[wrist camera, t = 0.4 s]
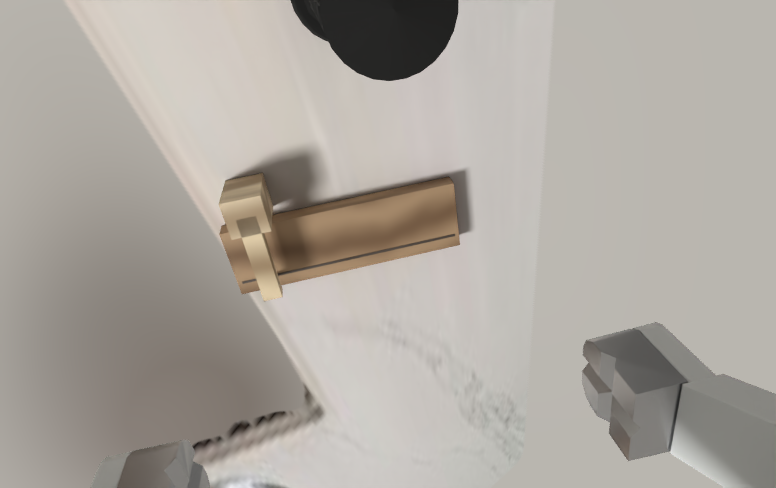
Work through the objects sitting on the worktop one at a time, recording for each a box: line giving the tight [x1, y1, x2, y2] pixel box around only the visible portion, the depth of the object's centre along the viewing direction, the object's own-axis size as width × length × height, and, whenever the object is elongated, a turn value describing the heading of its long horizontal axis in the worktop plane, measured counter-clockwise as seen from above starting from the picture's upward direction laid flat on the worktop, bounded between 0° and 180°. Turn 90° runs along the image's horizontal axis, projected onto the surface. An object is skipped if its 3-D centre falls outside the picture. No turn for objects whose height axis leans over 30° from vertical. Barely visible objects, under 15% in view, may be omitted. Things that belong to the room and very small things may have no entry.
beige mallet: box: [219, 173, 282, 301], centre depth 54 cm, size 12×4×6 cm, turn 9°
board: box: [220, 177, 460, 294], centre depth 58 cm, size 8×26×2 cm, turn 99°
